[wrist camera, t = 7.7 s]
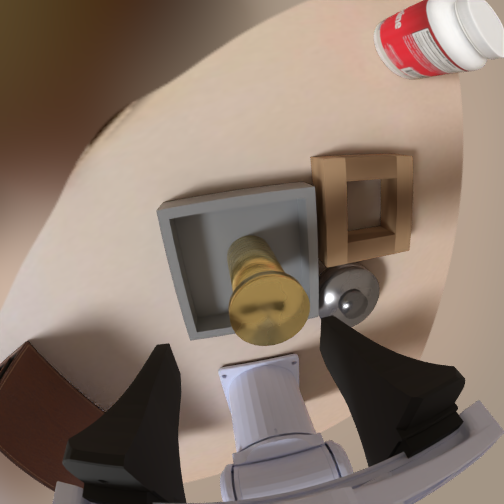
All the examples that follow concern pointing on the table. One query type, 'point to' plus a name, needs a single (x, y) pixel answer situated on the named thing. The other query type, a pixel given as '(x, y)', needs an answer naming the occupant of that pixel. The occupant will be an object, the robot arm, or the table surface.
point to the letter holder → (40, 416)
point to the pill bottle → (440, 38)
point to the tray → (221, 238)
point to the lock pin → (263, 294)
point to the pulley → (347, 293)
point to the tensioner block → (335, 206)
